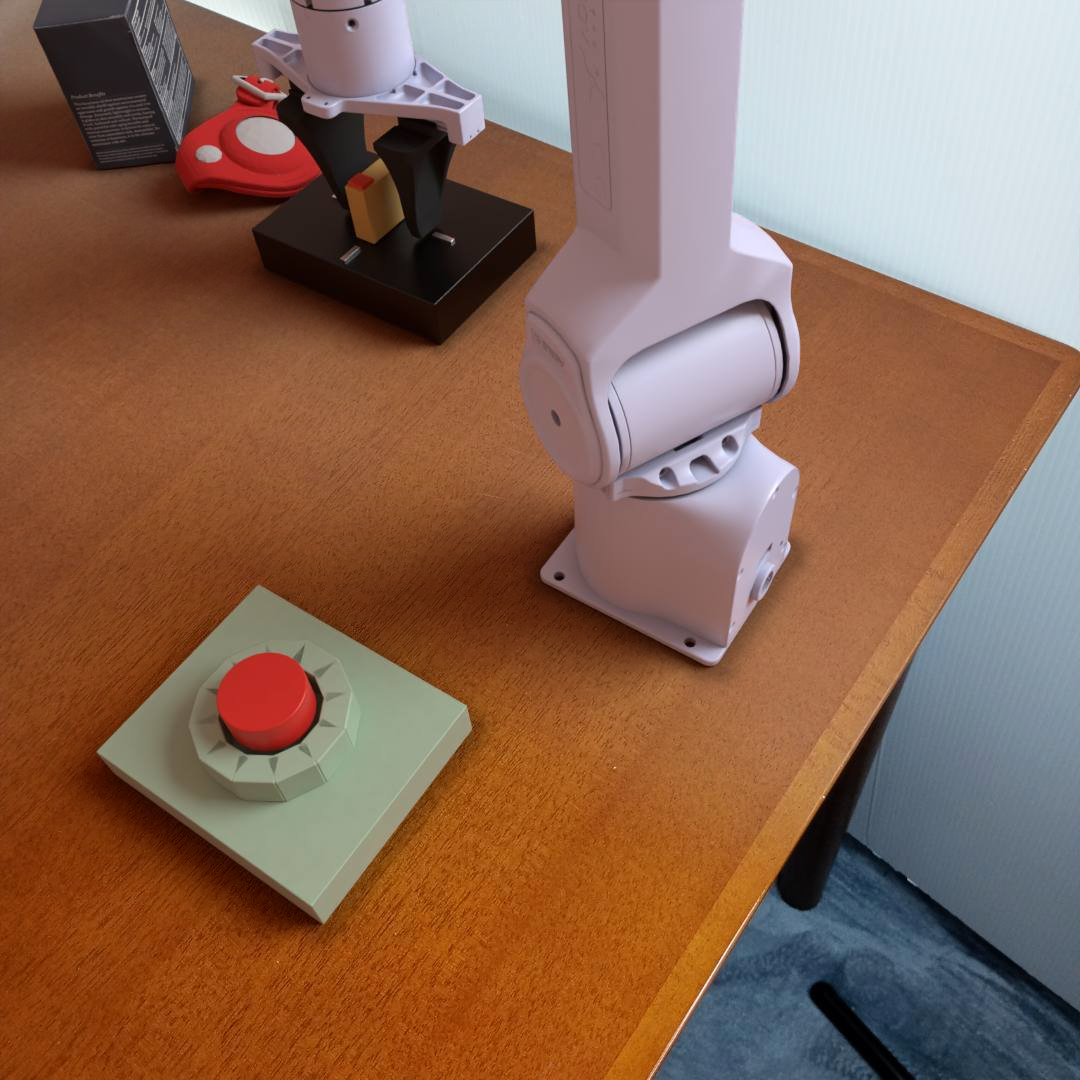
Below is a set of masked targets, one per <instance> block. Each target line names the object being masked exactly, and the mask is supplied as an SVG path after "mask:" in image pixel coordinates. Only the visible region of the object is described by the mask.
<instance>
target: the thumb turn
mask: <svg viewBox="0 0 1080 1080" xmlns="http://www.w3.org/2000/svg"><path fill="white" fill-rule="evenodd" d="M345 190H346V194H347V198H348V202H349V207H350V211H351V215H352V219H353V224H354V228H355V232H356V236H357V237H358V238H360V239H363V240H365V241H368V242H370V243H373V244H375V243H376V242H377V241H378V240H380V239H381V238H382V237H383V236H384V235H385V234H387V233H388V232H389V231H390V230H391V229H392V228H394V227H395V226H396V225H397V224H398V223H399V222H401V221H402V220H403V219H404V214H403V210H402V206H401V202H400V198H399V194H398V191H397V189H396V186H395V184H394V181H393V179H392V177H391V175H390V173H389V171H388V169H387V167H386V166H385V164H384V162H383V161H382V160H381V158H380V159H378V160H377V161H376V162H375V163H373V164H372V165H371V166H370V167H368V168H367V169H366V170H365V171H363V172H362V173H358V174H357V175H355V176H354V177H353V178H352V179H350V180H349V181H348V184H347V185H346V186H345Z"/></svg>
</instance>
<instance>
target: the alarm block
mask: <svg viewBox="0 0 1080 1080" xmlns="http://www.w3.org/2000/svg"><path fill="white" fill-rule="evenodd" d="M268 652H273V653H280V654H284V655H286V656H289V657H291V658H293V659H294V660H295V661H297V662H298V663H299V664H300V665H301V667H302V668H303V670H304V672H305V674H306V676H307V678H308V680H309V683H310V685H311V687H312V689H313V691H314V694H315V697H316V713H315V716H314V719H313V721H312V723H311V725H310V727H309V728H308V730H307V731H306V732H305V733H304V734H303V735H302V736H301V737H300V738H299V739H298V740H297V741H295V742H294V743H292V744H290V745H289V746H287V747H284V748H282V749H278V750H274V751H255V750H251V749H249V748H246V747H244V746H243V745H241V744H240V743H239V742H237V740H236V739H235V738H234V737H233V735H232V734H231V732H230V730H229V729H228V727H227V726H226V724H225V722H224V721H223V719H222V718H221V716H220V714H219V712H218V708H217V702H216V700H217V692H218V688H219V685H220V683H221V681H222V679H223V678H224V676H225V675H226V674H227V672H228V671H229V670H230V669H231V668H232V667H233V666H235V665H236V664H237V663H239V662H240V661H242V660H243V659H245V658H247V657H250V656H252V655H256V654H260V653H268ZM472 731H473V727H472V722H471V718H470V714H469V709H468V705H467V704H464V703H462V702H461V701H459V700H457V699H456V698H455V697H452V696H451V695H449V694H448V693H446V692H444V691H442V690H440V689H439V688H437V687H435V686H434V685H432V684H430V683H428V682H427V681H425V680H423V679H422V678H420V677H418V676H416V675H415V674H414V673H412V672H410V671H408V670H407V669H404V668H403V667H401V666H400V665H398V664H396V663H394V662H393V661H390V660H389V659H388V658H385V657H384V656H382V655H381V654H379V653H377V652H375V651H373V650H372V649H370V648H368V647H367V646H365V645H363V644H362V643H360V642H358V641H357V640H355V639H353V638H351V637H349V636H348V635H346V634H344V633H343V632H341V631H339V630H338V629H336V628H334V627H332V626H331V625H329V624H327V623H325V622H324V621H323V620H321V619H318V618H317V617H316V616H314V615H312V614H310V613H308V612H306V611H305V610H304V609H302V608H300V607H298V606H296V605H295V604H292V603H291V602H289V601H288V600H286V599H284V598H283V597H281V596H279V595H278V594H276V593H274V592H272V591H270V590H269V589H267V588H266V587H264V586H262V585H260V584H257V585H256V586H255V587H254V588H253V589H252V590H251V591H250V592H249V593H248V594H247V596H246V597H244V598H243V600H242V601H241V602H239V604H238V605H236V607H235V608H234V609H233V610H232V611H231V612H230V613H229V614H228V615H227V616H226V617H225V618H223V620H222V621H221V622H220V623H219V624H218V626H216V628H215V629H213V631H211V632H210V634H208V636H207V637H205V638H204V640H203V641H202V642H201V643H200V644H199V645H198V646H197V647H196V648H195V649H194V650H193V651H192V652H191V653H190V654H189V655H188V656H187V657H186V658H185V659H184V660H183V661H182V662H181V663H180V665H179V666H178V667H176V669H174V671H173V672H172V673H171V674H170V675H169V676H168V677H167V678H166V679H165V680H164V681H163V682H162V683H161V684H160V685H159V686H158V687H157V689H155V690H154V691H153V692H152V693H151V694H150V695H149V697H147V699H145V700H144V701H143V702H142V704H141V705H140V706H139V707H138V708H137V709H136V710H135V711H134V712H133V713H132V714H131V715H130V716H129V717H128V718H127V719H126V720H125V721H124V722H123V723H122V724H121V725H120V726H119V728H117V730H115V732H113V734H112V735H111V736H110V737H109V738H108V739H107V740H106V741H105V742H104V743H103V744H102V745H101V746H100V747H99V748H98V749H97V750H96V754H97V755H98V757H99V758H100V759H101V761H103V762H104V763H105V765H106V766H107V767H108V768H109V769H110V771H112V773H113V774H115V775H116V777H118V778H119V779H121V780H122V781H124V782H125V783H126V784H128V785H129V786H131V787H132V788H134V790H136V791H138V792H139V793H140V794H141V795H143V796H144V797H146V798H147V799H148V800H150V801H151V802H152V803H154V804H155V805H156V806H158V807H160V808H161V809H162V810H164V811H165V812H167V814H169V815H171V816H172V817H174V818H175V819H176V820H178V821H179V822H180V823H182V824H183V825H184V826H186V827H188V828H189V829H190V830H192V831H193V832H194V833H196V834H197V835H198V836H200V837H202V838H203V839H204V840H205V841H207V842H208V843H209V844H211V845H212V846H213V847H215V848H216V849H218V850H219V851H221V852H222V853H223V854H224V855H226V856H228V857H229V858H230V859H231V860H233V861H234V862H235V863H237V864H238V865H239V866H241V867H243V868H244V869H245V870H246V871H248V872H249V873H251V874H252V875H254V877H257V878H258V879H259V880H260V881H261V882H263V883H264V884H265V885H267V886H269V887H270V888H271V889H273V890H274V891H276V892H277V893H278V894H280V895H281V896H282V897H284V898H285V899H287V900H288V901H289V902H291V903H292V904H293V905H295V906H296V907H298V908H299V909H301V910H302V911H303V912H304V913H306V914H308V916H310V917H312V918H313V919H315V921H317V922H319V923H320V924H321V925H325V923H326V922H327V921H328V920H329V918H330V917H331V916H332V914H333V913H334V912H335V910H336V909H337V908H338V907H339V905H340V904H341V903H342V901H343V900H344V898H345V897H346V896H347V895H348V893H349V892H350V891H351V889H352V888H353V886H355V884H356V883H357V882H358V881H359V879H360V877H362V875H363V873H364V872H365V871H366V870H367V868H369V866H370V865H371V863H372V862H373V860H374V859H375V858H376V857H377V855H378V854H379V853H380V852H381V850H382V849H383V848H384V846H385V845H386V843H387V842H388V841H389V840H390V838H391V837H392V836H393V835H394V833H395V832H396V830H397V829H398V828H399V826H400V825H401V823H402V822H403V821H404V820H405V818H406V817H408V814H409V813H410V812H411V811H412V809H413V808H414V807H415V805H416V804H417V803H418V802H419V801H420V799H421V798H422V796H423V795H424V793H426V791H427V790H428V788H429V787H430V786H431V784H433V782H434V780H435V779H436V778H437V777H438V776H439V774H440V772H441V771H442V770H443V768H444V767H445V766H446V764H447V763H449V761H450V760H451V758H452V757H453V756H454V754H455V753H456V751H458V749H459V747H460V746H461V745H462V744H463V742H464V741H465V740H466V738H467V737H468V736H469V734H470V733H471V732H472Z"/></svg>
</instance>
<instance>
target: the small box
mask: <svg viewBox="0 0 1080 1080" xmlns="http://www.w3.org/2000/svg"><path fill="white" fill-rule="evenodd" d="M32 29H33V31H34V33H35V36H36V38H37V40H38V42H39V45H40V46H41V49H42V51H43V53H44V55H45V57H46V60H47V62H48V64H49V67H50V68H51V70H52V72H53V75H54V77H55V79H56V81H57V84H58V86H59V88H60V91H61V92H62V95H63V97H64V100H65V101H66V103H67V106H68V108H69V110H70V112H71V115H72V117H73V119H74V121H75V123H76V125H77V127H78V129H79V132H80V134H81V137H82V138H83V141H84V143H85V146H86V147H87V151H88V153H89V154H90V157H91V159H92V162H93V163H94V165H95V167H96V169H97V170H98V171H101V170H109V169H110V170H111V169H117V168H127V167H135V166H145V165H151V164H152V165H153V164H158V163H167V162H176V156H177V152H178V149H179V147H180V145H181V142H182V140H183V139H184V138H185V136H186V135H187V134H188V129H189V123H190V117H191V112H192V111H191V110H192V104H193V101H194V92H195V87H196V79H195V77H194V73H193V71H192V70H191V66H190V64H189V61H188V59H187V56H186V54H185V51H184V48H183V46H182V43H181V40H180V37H179V35H178V32H177V28H176V26H175V24H174V20H173V18H172V16H171V12H170V8H169V5H168V3H167V0H41V2H40V6H39V8H38V10H37V14H36V16H35V19H34V22H33V24H32Z"/></svg>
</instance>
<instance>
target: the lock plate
mask: <svg viewBox="0 0 1080 1080" xmlns="http://www.w3.org/2000/svg"><path fill="white" fill-rule="evenodd" d="M367 155H368V161H369V167H370V166H371V165H372V164H373V163H375V162H376V161H377V160H378V159H380V157H379V155H378V154H377V153H376V152H373V151H369V150H367ZM535 221H536V219H535V210H534V209H533V208H530V207H527V206H525V205H523V204H519V203H516V202H513V201H511V200H508V199H505V198H502V197H499V196H497V195H493V194H491V193H488V192H486V191H483V190H480V189H477V188H474V187H471V186H468V185H465V184H463V183H460V182H458V181H455V180H451V179H449V178H446V182H445V188H444V194H443V202H442V212H441V222H440V223H439V224H438V225H437V226H436V227H435V228H433V229H432V230H431V231H430V232H429V233H428V234H427V235H425V236H424V237H423V238H422V239H419V238H416V237H414V236H412V235H411V233H410V232H409V230H408V227H407V225H406V222H405V218H404V219H403V220H402V221H401V222H399V223H398V224H397V225H396V226H395V227H394V228H392V229H391V230H390V231H389V232H388V233H387V234H385V235H384V236H383V237H382V238H381V239H380V240H378V241H377V242H376V243H375V244H373V243H370V242H368V241H365V240H363V239H360V238H358V237H357V236H356V232H355V228H354V224H353V219H352V215H351V211H348V210H345V209H343V208H342V207H341V205H340V203H339V202H338V200H337V198H336V197H335V195H334V193H333V191H332V189H331V187H330V186H329V184H328V182H327V180H326V178H325V177H324V175H323V173H322V174H320V175H319V176H318V177H317V178H315V179H314V180H313V181H312V182H310V183H309V184H308V185H307V186H305V187H304V188H303V189H302V190H300V191H299V192H298V193H297V194H295V195H294V196H291V197H289V199H288V200H286V201H285V202H284V203H283V204H281V205H280V206H279V207H277V208H276V209H275V210H274V211H272V212H271V213H270V214H269V215H268V216H266V217H264V219H262V220H261V221H260V222H258V224H256V225H255V226H253V227H252V228H251V232H252V235H253V239H254V242H255V246H256V249H257V252H258V254H259V257H260V260H261V264H262V266H263V269H264V270H265V271H266V270H267V272H271V273H273V274H276V275H277V276H280V277H282V278H285V279H287V280H289V281H291V282H294V283H296V284H299V285H300V286H301V285H302V286H303V287H306V288H308V289H310V290H312V291H315V292H317V293H319V294H321V295H323V296H324V295H325V296H327V297H329V298H332V299H334V300H336V301H338V302H341V303H343V304H345V305H348V306H350V307H352V308H355V309H357V310H359V311H362V312H364V313H366V314H369V315H371V316H373V317H376V318H378V319H379V320H383V321H385V322H387V323H390V324H391V325H394V326H397V327H399V328H401V329H404V330H406V331H408V332H410V333H412V334H415V335H417V336H420V337H422V338H425V339H427V340H429V341H432V342H434V343H436V344H438V345H443V344H444V343H445V342H446V341H447V340H448V339H449V338H450V337H451V336H452V335H453V334H454V333H455V332H456V331H457V330H458V329H459V328H460V327H461V326H462V325H463V324H464V323H465V322H466V321H467V320H468V319H469V318H470V317H471V316H472V315H473V314H474V313H475V312H476V311H477V310H478V309H479V308H480V307H481V306H482V305H483V304H484V303H485V302H486V301H487V300H488V299H489V298H490V297H491V296H492V295H493V294H494V293H495V292H496V291H497V290H498V289H499V288H500V287H501V286H502V285H503V284H504V283H505V282H506V281H507V280H508V279H510V277H512V275H514V273H515V272H516V271H517V270H519V269H520V267H521V266H522V265H523V264H524V263H525V262H526V261H527V260H528V259H530V257H531V256H533V254H534V253H535V252H536V251H537V250H538V249H537V248H538V247H537V235H536V234H537V233H536V222H535Z"/></svg>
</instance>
